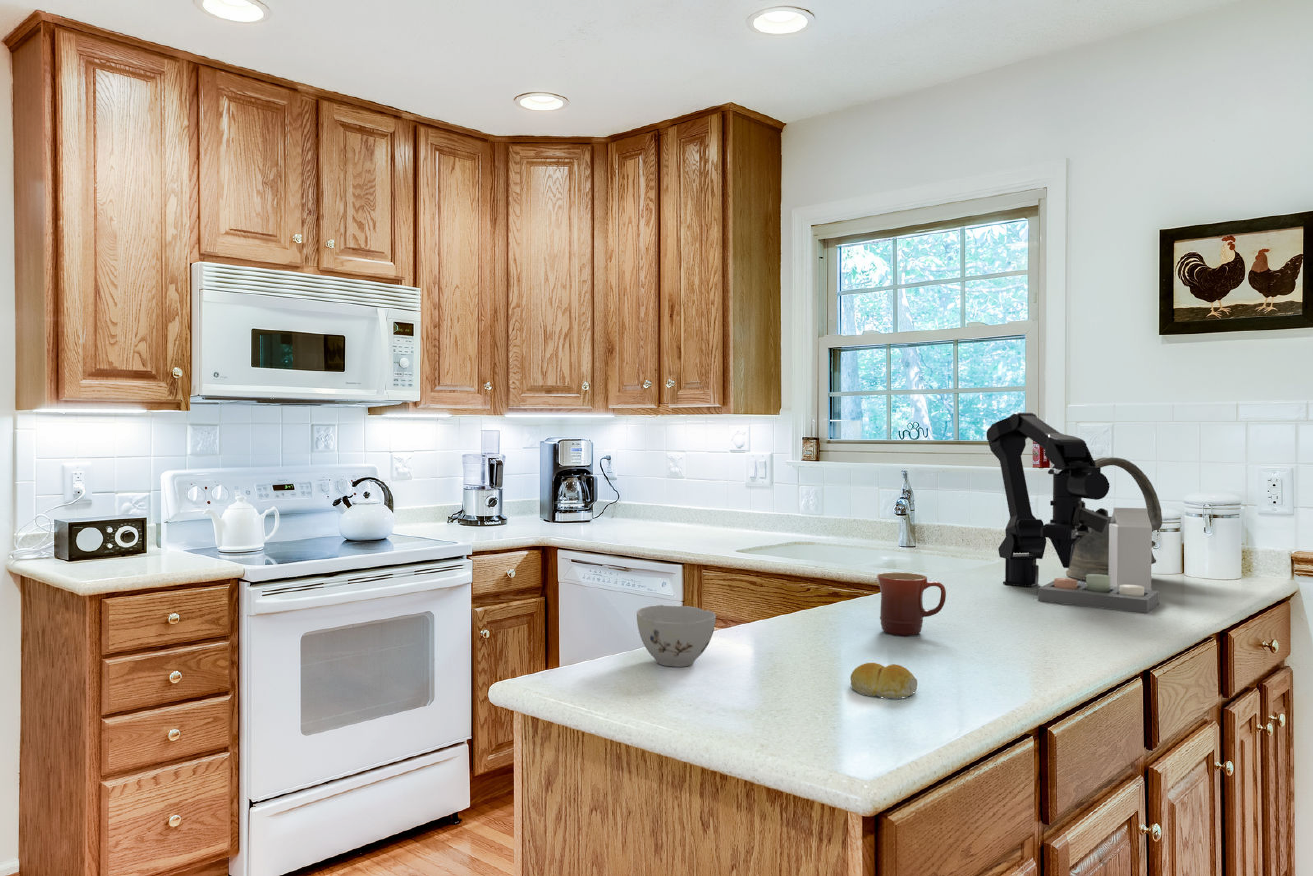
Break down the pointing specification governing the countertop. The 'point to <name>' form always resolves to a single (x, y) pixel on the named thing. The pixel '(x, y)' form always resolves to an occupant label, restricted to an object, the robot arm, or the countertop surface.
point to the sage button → (1098, 582)
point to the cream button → (1131, 590)
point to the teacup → (675, 633)
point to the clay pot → (1095, 545)
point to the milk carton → (1130, 547)
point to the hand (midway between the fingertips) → (1066, 567)
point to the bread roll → (883, 680)
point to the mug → (905, 602)
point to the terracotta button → (1065, 583)
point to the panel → (1099, 598)
